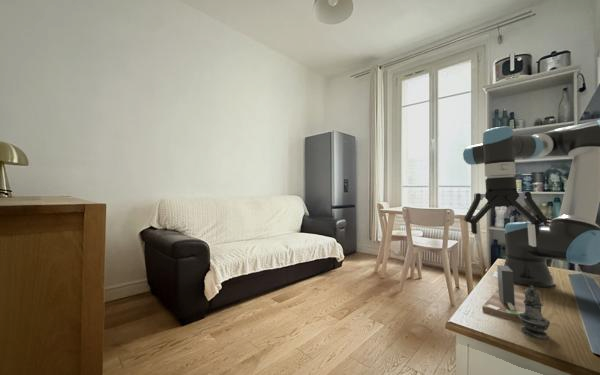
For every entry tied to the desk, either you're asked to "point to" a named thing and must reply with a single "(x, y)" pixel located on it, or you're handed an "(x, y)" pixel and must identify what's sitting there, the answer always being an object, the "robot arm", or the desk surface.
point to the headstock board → (505, 306)
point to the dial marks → (506, 310)
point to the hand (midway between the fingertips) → (504, 244)
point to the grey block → (506, 285)
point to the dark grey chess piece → (533, 315)
